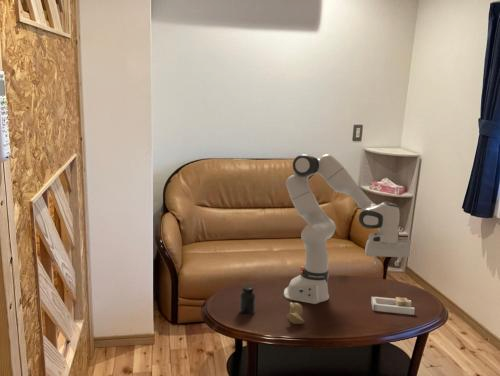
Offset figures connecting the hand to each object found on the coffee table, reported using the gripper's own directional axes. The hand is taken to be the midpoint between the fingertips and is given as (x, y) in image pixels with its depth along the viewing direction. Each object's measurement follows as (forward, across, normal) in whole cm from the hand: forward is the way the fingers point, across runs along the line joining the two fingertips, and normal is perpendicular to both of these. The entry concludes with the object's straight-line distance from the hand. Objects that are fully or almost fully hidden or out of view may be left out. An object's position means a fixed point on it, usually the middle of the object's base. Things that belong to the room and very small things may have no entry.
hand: (386, 265), depth 216 cm
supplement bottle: (+20, +64, +15) cm, 69 cm away
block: (+21, -8, +1) cm, 23 cm away
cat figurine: (+20, +42, +20) cm, 51 cm away
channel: (+21, -4, +1) cm, 22 cm away
